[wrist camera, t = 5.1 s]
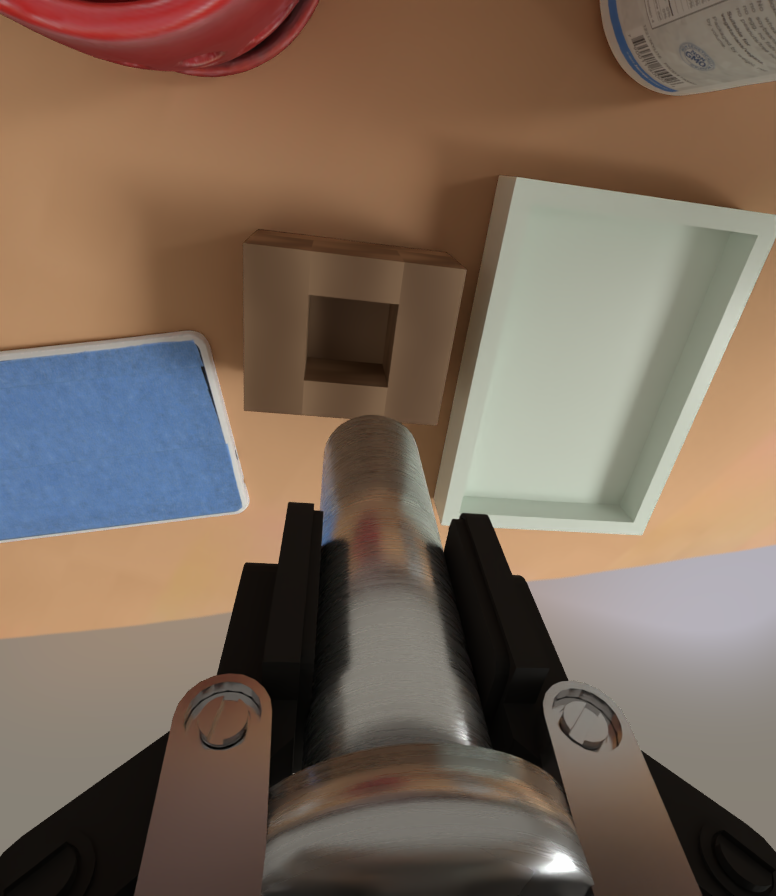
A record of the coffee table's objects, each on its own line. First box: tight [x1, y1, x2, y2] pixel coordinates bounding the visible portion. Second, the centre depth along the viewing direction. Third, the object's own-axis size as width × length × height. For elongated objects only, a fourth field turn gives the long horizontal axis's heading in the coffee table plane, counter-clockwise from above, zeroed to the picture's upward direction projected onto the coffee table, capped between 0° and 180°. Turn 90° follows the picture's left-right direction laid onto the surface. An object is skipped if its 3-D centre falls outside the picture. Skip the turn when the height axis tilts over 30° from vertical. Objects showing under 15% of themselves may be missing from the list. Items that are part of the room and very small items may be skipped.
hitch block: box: [243, 229, 467, 425], centre depth 27 cm, size 10×8×5 cm
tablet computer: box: [0, 330, 249, 543], centre depth 32 cm, size 19×13×1 cm, turn 95°
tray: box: [434, 175, 776, 535], centre depth 31 cm, size 20×14×3 cm
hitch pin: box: [261, 415, 595, 896], centre depth 11 cm, size 4×4×11 cm
